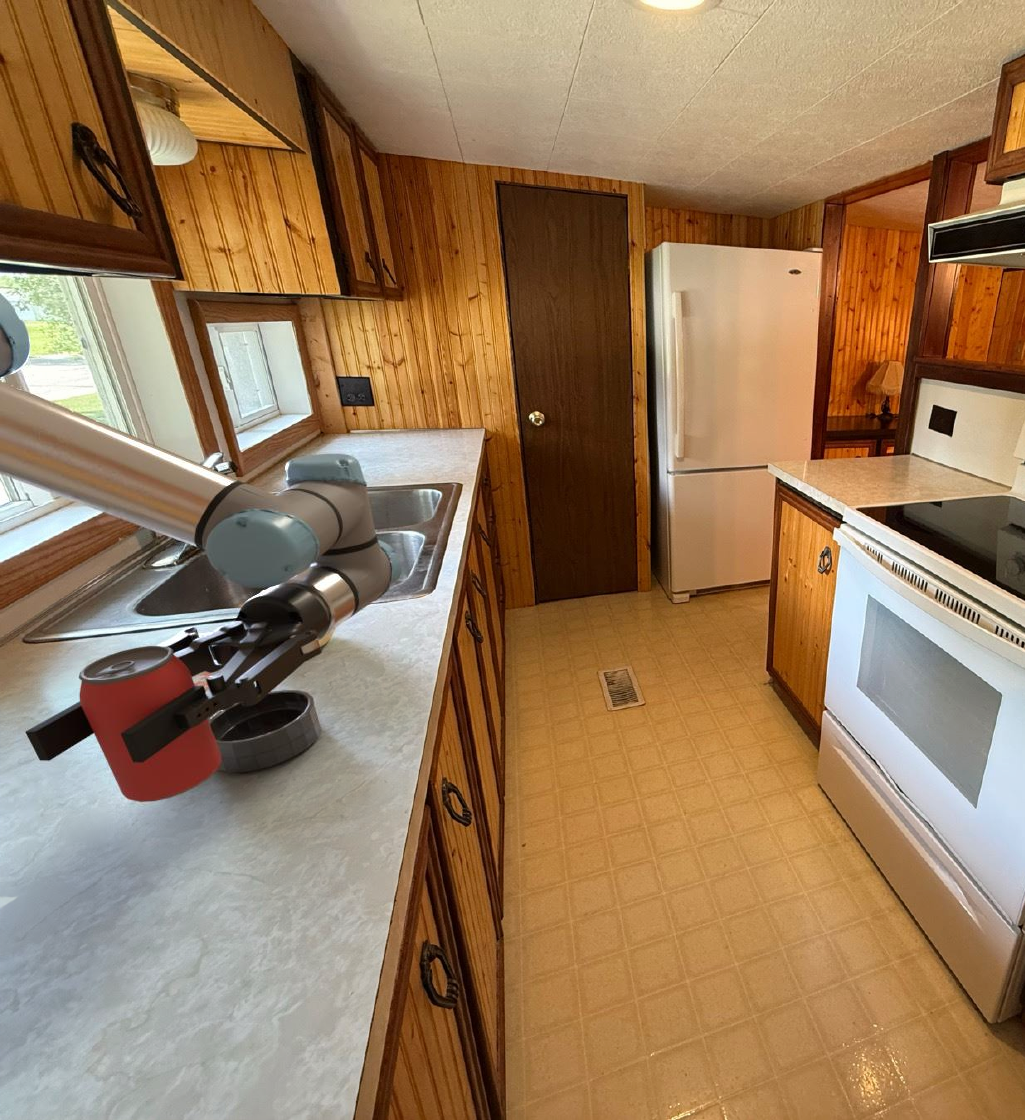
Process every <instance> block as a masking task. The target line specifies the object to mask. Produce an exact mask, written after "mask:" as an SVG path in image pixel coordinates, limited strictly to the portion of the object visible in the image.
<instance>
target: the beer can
mask: <svg viewBox="0 0 1025 1120" xmlns="http://www.w3.org/2000/svg"><path fill="white" fill-rule="evenodd" d="M78 679H79V680H80V681H81V683H80V688H79V701H80V704H81V706H82V708H83V711H84V713H85V715H86V717H87V719H88V721H89V723H90V726H91V728H92V730H93V732H94V736H95V738H96V740H97V743H98V745H99V747H100V749H101V751H102V753H103V755H104V758H105V760H106V762H107V764H108V767H109V768H110V771H111V773H112V775H113V777H114V779H115V781H116V784H117V786H118V788H119V790H120V792H121V794H122V796H123V797H125V798H126V799H127V800H130V801H133V802H139V803H147V802H157V801H162V800H167V799H170V798H171V799H172V797H176V796H180V795H182V794H184V793H186V792H188V791H190V790H192V789H194V788H196V787H198V786H199V785H201V784H203V783H204V782H205V781H207V780H208V779H209V778H211V776H212V775H213V774H215V772H216V771H217V770H218V769H217V768H218V766H219V765H220V763H221V753H220V750H219V748H218V745H217V742H216V740H215V737H214V735H213V732H212V729H211V727H210V724H209V721H208V719H206V720H204V721H203V722H202V723H200V724H199V725H197V726H195V727H193V728H191V729H189V730H188V731H186V732H185V733H183V734H182V735H181V736H179V737H178V738H176V739H175V740H174V741H172V742H171V743H169V744H168V745H167V746H165V747H164V748H162V749H161V750H160V751H158V752H157V753H155V754H154V755H153V756H151V757H150V758H149V759H147V760H146V761H144V762H143V763H138V762H133V761H132V759H131V756H130V754H129V752H128V750H127V747H126V745H125V743H124V741H123V738H122V736H121V733H122V732H124V731H125V730H127V729H128V728H130V727H131V726H133V725H135V724H136V723H138V722H139V721H141V720H142V719H144V718H145V717H147V716H149V715H150V714H152V713H153V712H155V711H156V710H158V709H159V708H161V707H163V706H164V705H166V704H167V703H169V702H170V701H172V700H173V699H175V698H177V697H178V696H180V695H181V694H183V693H184V692H186V691H187V690H189V689H190V688H192V687H194V686H195V684H194V682H193V679H192V676H191V674H190V671H189V669H188V668H187V666H186V665H185V664H184V663H183V662H182V661H181V660H180V659H179V658H177V657H176V656H175V655H174V654H173V650H172V649H170V648H169V647H164V646H157V645H147V646H139V647H134V648H133V647H132V648H130V649H129V648H128V649H125V650H122V651H117V652H115V653H112V654H108V655H106V656H104V657H101V658H99V659H96V660H95V661H92V662H91V663H89V664H88V665H87V666H85V667H84V668H83V669H81V671H80V672H79V674H78Z"/></svg>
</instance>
